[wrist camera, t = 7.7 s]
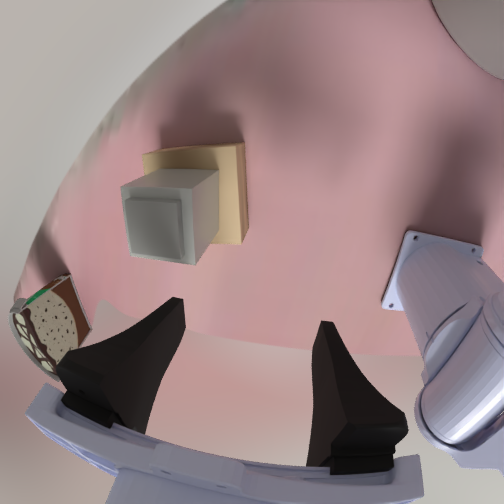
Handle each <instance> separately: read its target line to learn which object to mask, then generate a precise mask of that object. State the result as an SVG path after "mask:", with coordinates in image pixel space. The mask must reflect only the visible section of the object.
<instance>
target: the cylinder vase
mask: <svg viewBox="0 0 504 504" xmlns="http://www.w3.org/2000/svg"><path fill="white" fill-rule="evenodd" d="M432 2H433V5H434V7H435V9H436V12H437V14H438V16H439V18H440V20H441V21H442V23H443V25H444V26H445V28H446V29H447V31H448V32H449V34H450V35H451V37H452V38H453V39H454V41H455V42H456V43H457V44H458V46H459V47H460V48H461V49H462V50H463V51H464V52H465V54H466V55H467V56H468V57H469V58H470V59H471V60H472V61H474V62H475V63H476V64H477V65H478V66H479V67H481V68H482V69H483V70H485V71H486V72H488V73H489V74H491V75H493V76H494V77H496V78H499V79H501V80H504V0H432Z"/></svg>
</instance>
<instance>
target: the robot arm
mask: <svg viewBox="0 0 504 504" xmlns="http://www.w3.org/2000/svg"><path fill="white" fill-rule="evenodd" d="M414 236H417V238H416V239H413V238H414ZM473 248H474V249H473ZM472 249H473V251H472ZM483 251H484V249H483V248H482V247H481V246H479V245H475V244H471V243H467V242H462V241H458V240H454V239H449V238H445V237H440V236H436V235H431V234H427V233H422V232H417V231H412V230H409V231H407V232H406V234H405V236H404V240H403V243H402V246H401V249H400V252H399V256H398V259H397V262H396V264H395V267H394V270H393V273H392V276H391V279H390V281H389V284H388V287H387V289H386V292H385V295H384V297H383V300H382V302H381V305H382V308H383V309H390V310H400V311H405V314H406V316H407V319H408V321H409V323H410V326H411V328H412V331H413V334H414V336H415V339H416V342H417V344H418V347H419V350H420V352H421V355H422V358H423V361H424V365H425V366H424V370H423V372H422V373H421V376H422V379H423V383H424V387H423V389H422V390H421V391H420V393H419V394H418V396H417V398H416V401H415V407H414V413H415V419H416V423H417V426H418V428H419V430H420V432H421V433H422V435H423V436H424V437H425V439H426V440H427V441H428V442H429V443H431V444H432V445H433V446H435V447H437V448H439V449H441V450H443V451H445V452H447V453H448V454H450V455H451V456H452V457H453V458H454V460H455V461H456V462H457V464H458V465H459V466H460V467H461V468H469V469H496V470H499V471H500V472H501V474H502V475H503V477H504V412H503V411H504V283H503V282H502V280H501V279H500V278H499V277H498V276H497V275H496V274H495V273H494V271H493V270H492V269H491V268H490V267H489V266H488V265H487V264H486V263H485V262H484V261H483V260H482V259H481V257H482V254H483ZM390 304H392V305H390ZM185 328H186V324H185V314H184V302H183V299H180V298H175V297H172V298H171V299H169V300H168V301H167V302H165V303H164V304H163V305H161V306H160V307H159V308H157V309H156V310H155V311H154V312H152V313H151V314H149V315H148V316H147V317H145V318H144V319H142V320H141V321H140V322H138V323H136V324H135V325H133V326H132V327H130V328H129V329H127V330H125V331H124V332H121V333H119V334H117V335H115V336H113V337H111V338H108V339H106V340H104V341H102V342H99V343H96V344H93V345H90V346H86V347H83V348H78V349H74V350H69V351H67V353H66V354H65V355H64V356H63V358H62V359H61V360H60V362H59V363H58V364H57V366H56V368H55V369H56V373H57V375H58V377H59V379H60V380H61V382H62V383H63V385H64V386H65V388H66V389H67V391H66V393H65V394H64V393H63V392H62V391H60V390H59V389H57V388H55V387H54V386H52V385H50V384H49V383H45V384H44V386H43V387H42V389H41V390H40V391H39V393H38V394H37V396H36V397H35V399H34V400H33V402H32V403H31V405H30V406H29V407H28V409H27V411H26V412H25V415H26V416H27V417H28V418H29V419H30V420H31V421H32V422H33V423H34V424H35V425H36V426H37V427H38V428H39V429H40V430H41V431H42V432H43V433H44V434H45V435H46V436H47V437H49V438H50V439H52V440H53V441H55V442H56V443H58V444H59V445H61V446H62V447H64V448H65V449H67V450H69V451H70V452H72V453H74V454H75V455H77V456H78V457H80V458H82V459H83V460H85V461H87V462H88V463H90V464H92V465H94V466H95V467H97V468H99V469H101V470H103V471H105V472H107V473H109V474H110V475H113V476H114V477H116V479H115V482H114V484H113V486H112V489H111V491H110V493H109V496H108V498H107V501H106V503H105V504H409V503H411V502H413V501H416V500H418V499H420V498H422V497H423V496H424V488H423V479H422V470H421V463H420V456H419V455H418V454H416V455H410V456H403V457H398V458H395V459H393V454H394V453H395V451H396V450H395V445H396V444H397V443H399V442H400V441H401V440H402V439H403V438H404V437H405V436H406V435H407V433H408V425H407V420H406V417H405V413H404V412H402V411H401V410H400V409H398V408H397V407H396V406H394V405H393V404H392V403H390V402H389V401H388V400H387V399H386V398H385V397H384V396H382V395H381V394H380V393H379V392H378V391H377V390H376V388H375V387H374V386H373V385H372V384H371V383H370V382H369V381H368V380H367V378H366V377H365V376H364V375H363V373H362V372H361V371H360V369H359V368H358V366H357V365H356V363H355V362H354V360H353V359H352V357H351V355H350V354H349V352H348V350H347V348H346V347H345V345H344V343H343V341H342V339H341V337H340V335H339V333H338V331H337V329H336V327H335V325H334V323H333V322H329V321H321V323H320V326H319V330H318V333H317V336H316V339H315V342H314V345H313V350H312V383H313V418H312V428H311V437H310V444H309V452H308V457H307V463H306V467H305V466H288V465H277V464H268V463H259V462H252V461H246V460H240V459H233V458H229V457H224V456H218V455H214V454H209V453H205V452H201V451H197V450H193V449H189V448H185V447H182V446H178V445H175V444H171V443H168V442H165V441H162V440H159V439H156V438H153V437H150V436H147V435H145V432H146V428H147V424H148V420H149V417H150V413H151V410H152V406H153V403H154V400H155V397H156V394H157V391H158V388H159V386H160V383H161V380H162V378H163V376H164V373H165V371H166V370H167V368H168V366H169V364H170V362H171V360H172V358H173V356H174V354H175V352H176V350H177V348H178V346H179V344H180V342H181V339H182V337H183V334H184V331H185ZM502 412H503V413H502ZM501 413H502V414H501ZM500 414H501V415H500Z"/></svg>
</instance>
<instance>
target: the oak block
mask: <svg viewBox="0 0 504 504" xmlns="http://www.w3.org/2000/svg"><path fill="white" fill-rule="evenodd" d="M142 159H143V167H144V175H147V174H149V173H151V172H153V171H156V170H158V169H208V170H219V231H218V233H217V234H216V236H215V237H214V238H213V240H212V241H211V244H242V242H243V240H244V238H245V235H246V233H247V231H248V229H249V222H248V201H247V181H246V159H245V142H243V143H222V144H207V145H194V146H184V147H174V148H165V149H159V150H156V151H153V152H149V153H146V154H143V155H142Z"/></svg>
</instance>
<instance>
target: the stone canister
mask: <svg viewBox="0 0 504 504" xmlns="http://www.w3.org/2000/svg"><path fill="white" fill-rule="evenodd" d="M121 195H122V204H123V212H124V220H125V227H126V234H127V240H128V246H129V252H130V256H133V257H140V258H147V259H154V260H161V261H168V262H176V263H183V264H190V265H196V264H197V262H198V261H199V259H200V258H201V256H202V255H203V253H204V252H205V250H206V249H207V247H208V246H209V244H210V243H211V241H212V240H213V238H214V237H215V236H216V234H217V233H218V231H219V170H208V169H158V170H156V171H153V172H151V173H149V174H147V175H144V176H142V177H140V178H138V179H136V180H134V181H132V182H129V183H127V184H125V185H123V186H121Z"/></svg>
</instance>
